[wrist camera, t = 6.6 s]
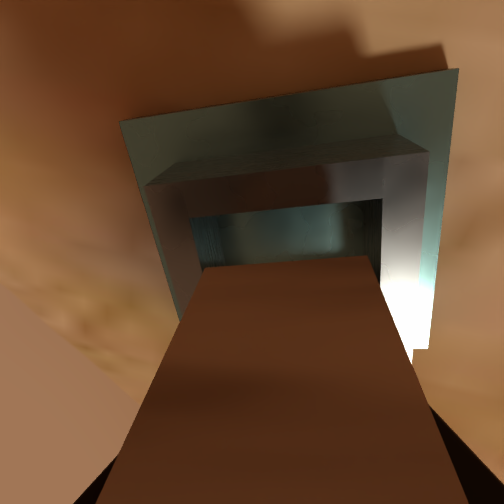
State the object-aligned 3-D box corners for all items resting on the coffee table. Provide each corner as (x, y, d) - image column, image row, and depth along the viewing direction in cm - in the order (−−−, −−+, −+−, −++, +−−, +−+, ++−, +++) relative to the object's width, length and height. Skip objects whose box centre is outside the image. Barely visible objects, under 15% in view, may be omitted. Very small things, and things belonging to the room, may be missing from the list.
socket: (422, 337, 17) (455, 405, 13) (194, 345, 19) (171, 407, 15) (449, 68, 12) (516, 66, 8) (127, 119, 14) (69, 134, 10)
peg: (366, 377, 11) (505, 950, 4) (232, 379, 11) (132, 864, 4) (367, 255, 9) (663, 978, 2) (205, 267, 10) (-48, 812, 2)
